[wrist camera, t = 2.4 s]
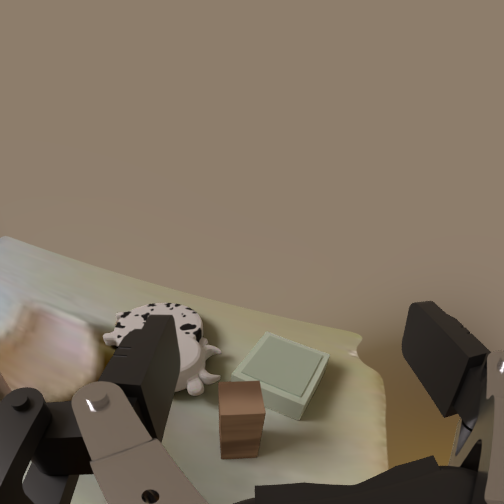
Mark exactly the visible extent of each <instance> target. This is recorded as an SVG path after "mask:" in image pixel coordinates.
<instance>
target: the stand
mask: <svg viewBox="0 0 504 504" xmlns="http://www.w3.org/2000/svg"><path fill="white" fill-rule="evenodd" d="M329 357H330V354H327V353H325V352H322V351H319V350H316V349H313V348H311V347H308V346H305V345H302V344H300V343H297V342H294V341H291V340H289V339H286V338H283V337H281V336H278V335H275V334H273V333H270V332H268V331H266V332H265V334H264V335H263V336H262V337H261V339H260V340H259V341H258V342H257V344H256V345H255V346H254V347H253V349H252V350H251V351H250V352H249V354H248V355H247V356H246V357H245V358H244V360H243V361H242V362H241V363H240V364H239V366H238V367H237V368H236V369H235V371H234V372H233V373H232V374H231V382H236V381H259V380H260V385H261V391H262V396H263V402H264V407H267V408H269V409H271V410H274V411H276V412H278V413H281V414H283V415H286V416H288V417H290V418H293V419H295V420H298V421H299V420H300V419H301V417H302V415H303V413H304V411H305V409H306V407H307V405H308V404H309V402H310V400H311V398H312V396H313V394H314V392H315V390H316V388H317V386H318V384H319V382H320V380H321V378H322V376H323V374H324V372H325V369H326V366H327V363H328V360H329Z"/></svg>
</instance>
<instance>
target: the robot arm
mask: <svg viewBox="0 0 504 504" xmlns="http://www.w3.org/2000/svg"><path fill="white" fill-rule="evenodd" d="M402 353H403V356H404V358H405V360H406V361H407V362H408V364H409V365H410V367H411V368H412V370H413V371H414V373H415V374H416V375H417V377H418V379H419V380H420V382H421V383H422V385H423V386H424V388H425V389H426V391H427V392H428V394H429V395H430V396H431V398H432V400H433V401H434V403H435V404H436V406H437V407H438V409H439V411H440V412H441V414H442V415H443V417H444V418H445V417H448V416H452V415H455V414H459V416H460V417H461V418H460V420H459V422H458V425H457V430H456V435H455V440H454V444H453V449H452V453H451V457H450V461H449V464H448V466H438V464H437V462H436V460H435V458H434V456H430V457H426V458H423V459H420V460H416V461H413V462H409V463H406V464H402V465H398V466H395V467H393V468H391V469H389V470H387V471H385V472H383V473H381V474H379V475H377V476H375V477H372V478H370V479H368V480H366V481H364V482H361V483H359V484H356V485H329V484H314V483H294V484H281V485H262V486H255V498H251V499H247V500H243V501H240V502H237V503H234V504H504V351H502V350H498V351H493V352H490V351H489V350H488V349H487V348H486V347H485V346H484V345H483V344H482V343H481V342H480V341H479V340H478V339H477V338H476V337H474V335H473V334H470V332H469V331H468V330H467V329H466V328H464V327H463V325H462V324H461V323H460V322H459V321H458V320H457V319H455V318H453V317H451V316H450V315H448V314H446V313H445V312H444V311H442V309H440V308H439V307H438V306H437V305H436V304H435V303H434V302H433V301H425V302H417V303H412V304H411V305H410V307H409V311H408V316H407V321H406V326H405V331H404V336H403V339H402ZM113 355H114V356H112V358H111V359H110V361H109V363H108V364H107V366H106V368H105V370H104V371H103V373H102V375H101V377H100V378H99V380H98V382H93V383H90V384H87V385H85V386H83V387H81V388H80V389H79V390H78V391H77V392H76V393H75V394H74V396H73V398H72V401H66V402H50V403H46V402H45V400H44V398H43V396H42V394H41V393H40V392H39V391H38V390H36V389H34V388H28V387H27V388H19V389H16V390H14V391H11V389H10V388H9V386H8V384H7V383H6V381H5V379H4V378H3V376H2V375H1V373H0V504H70V503H71V499H72V496H73V493H74V490H75V487H76V484H77V481H78V478H79V475H83V474H94V475H95V477H96V479H97V482H98V484H99V486H100V488H101V490H102V492H103V494H104V496H105V499H106V501H107V503H108V504H208V503H207V502H206V500H205V499H204V498H203V497H202V496H201V495H200V493H199V492H198V491H197V490H196V489H195V487H194V486H193V485H192V484H191V482H190V481H189V480H188V479H187V477H186V476H185V475H184V474H183V472H182V471H181V470H180V468H179V467H178V466H177V464H176V463H175V462H174V460H173V459H172V458H171V456H170V455H169V454H168V452H167V451H166V449H165V448H164V447H163V445H162V444H161V442H162V438H163V434H164V430H165V426H166V422H167V418H168V415H169V411H170V407H171V403H172V399H173V396H174V392H175V388H176V384H177V381H178V377H179V373H180V365H181V361H180V351H179V345H178V339H177V333H176V326H175V320H174V317H173V315H153V314H151V315H149V316H148V318H147V320H146V322H145V323H144V325H143V327H142V329H134V330H132V331H131V332H130V333H128V334H127V335H126V336H124V337H123V339H122V341H121V342H120V344H119V346H118V348H117V349H116V351H115V352H114V354H113ZM30 460H31V461H32V464H31V466H30V468H29V470H28V472H27V475H26V477H25V479H24V482H23V484H22V479H23V476H24V473H25V471H26V469H27V467H28V465H29V462H30Z"/></svg>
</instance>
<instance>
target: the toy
mask: <svg viewBox="0 0 504 504" xmlns="http://www.w3.org/2000/svg"><path fill="white" fill-rule="evenodd" d="M151 314H153V315H173V317H174V320H175V326H176V333H177V339H178V345H179V351H180V361H181V365H180V373H179V377H178V381H177V384H176V388H175V392H177V391H180V390H183V389H186V388H187V390H188V393H189V394H190V395H193V396H197V395H200V394H202V393H203V392H204V386H203V384H206V385H209V384H213V383H215V382H217V381H218V380H219V379H220V378H221V375H213V374H210V373H208V372H207V371H206V370H205V361H206V360H207V359H208V358H209V357H210V356H212V355H215V354H222V352H221V350H220V349H219V348H217V347H215V346H212V345H208V340H207V339H206V338H203V322H202V319H201V317H200V316H199V315H198V314H197V313H196V312H195V311H194V310H192V309H191V308H189V307H186V306H184V305H180V304H174V303H154V304H148V305H144V306H140V307H137V308H135V309H133V310H131V311H129V312H117V313H116V320H117V322H116V324H115V325H116V326H115V329H114V331H113V332H112V333H106V334H104V335H103V338H104V341H105V343H106V345H116V346H119V344H120V342H121V341H122V339H123V337H124V336H126V335H127V334H128V333H130V332H131V331H132V330H134V329H142V327H143V325H144V323H145V322H146V320H147V318H148V316H149V315H151Z"/></svg>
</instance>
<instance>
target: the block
mask: <svg viewBox="0 0 504 504" xmlns="http://www.w3.org/2000/svg"><path fill="white" fill-rule="evenodd" d="M218 390H219V434H220V448H221V459H239V458H255V457H257V455H258V450H259V445H260V440H261V435H262V430H263V424H264V419H265V414H266V413H265V407H264V402H263V396H262V391H261V385H260V380H259V381H236V382H218Z"/></svg>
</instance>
